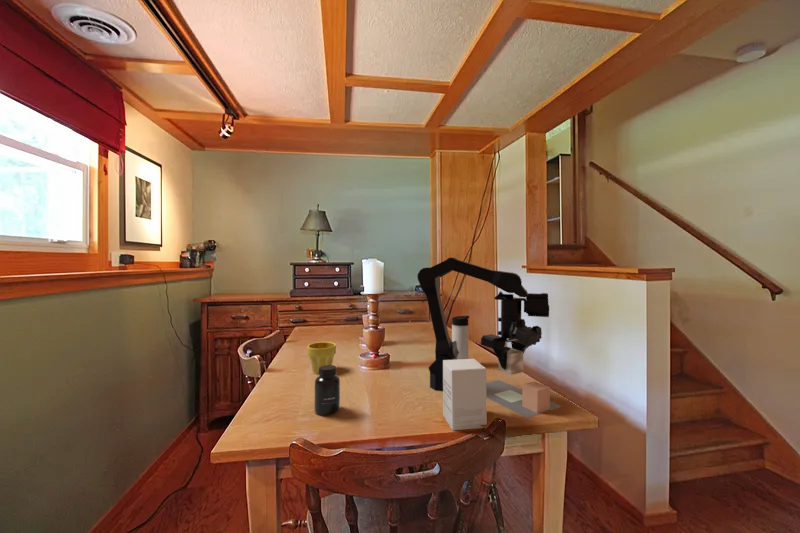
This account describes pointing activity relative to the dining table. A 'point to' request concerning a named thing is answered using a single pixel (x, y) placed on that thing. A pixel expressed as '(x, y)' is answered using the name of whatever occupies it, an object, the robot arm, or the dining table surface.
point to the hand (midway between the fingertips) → (510, 367)
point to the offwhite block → (513, 362)
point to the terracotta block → (536, 397)
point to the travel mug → (461, 335)
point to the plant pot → (321, 354)
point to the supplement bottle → (327, 391)
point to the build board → (511, 398)
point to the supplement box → (464, 394)
